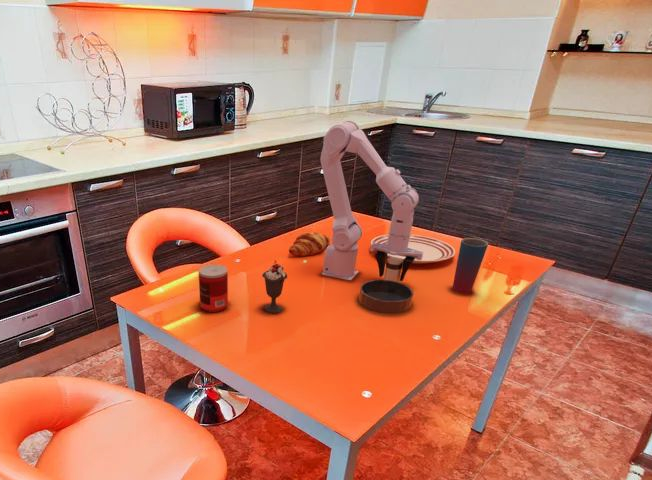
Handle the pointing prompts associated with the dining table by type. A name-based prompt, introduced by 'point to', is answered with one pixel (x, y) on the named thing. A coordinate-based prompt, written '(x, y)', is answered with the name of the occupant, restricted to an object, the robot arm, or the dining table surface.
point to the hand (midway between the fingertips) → (391, 277)
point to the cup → (468, 264)
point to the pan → (385, 296)
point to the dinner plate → (423, 248)
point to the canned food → (213, 287)
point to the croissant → (309, 244)
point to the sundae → (274, 286)
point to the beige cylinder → (393, 269)
